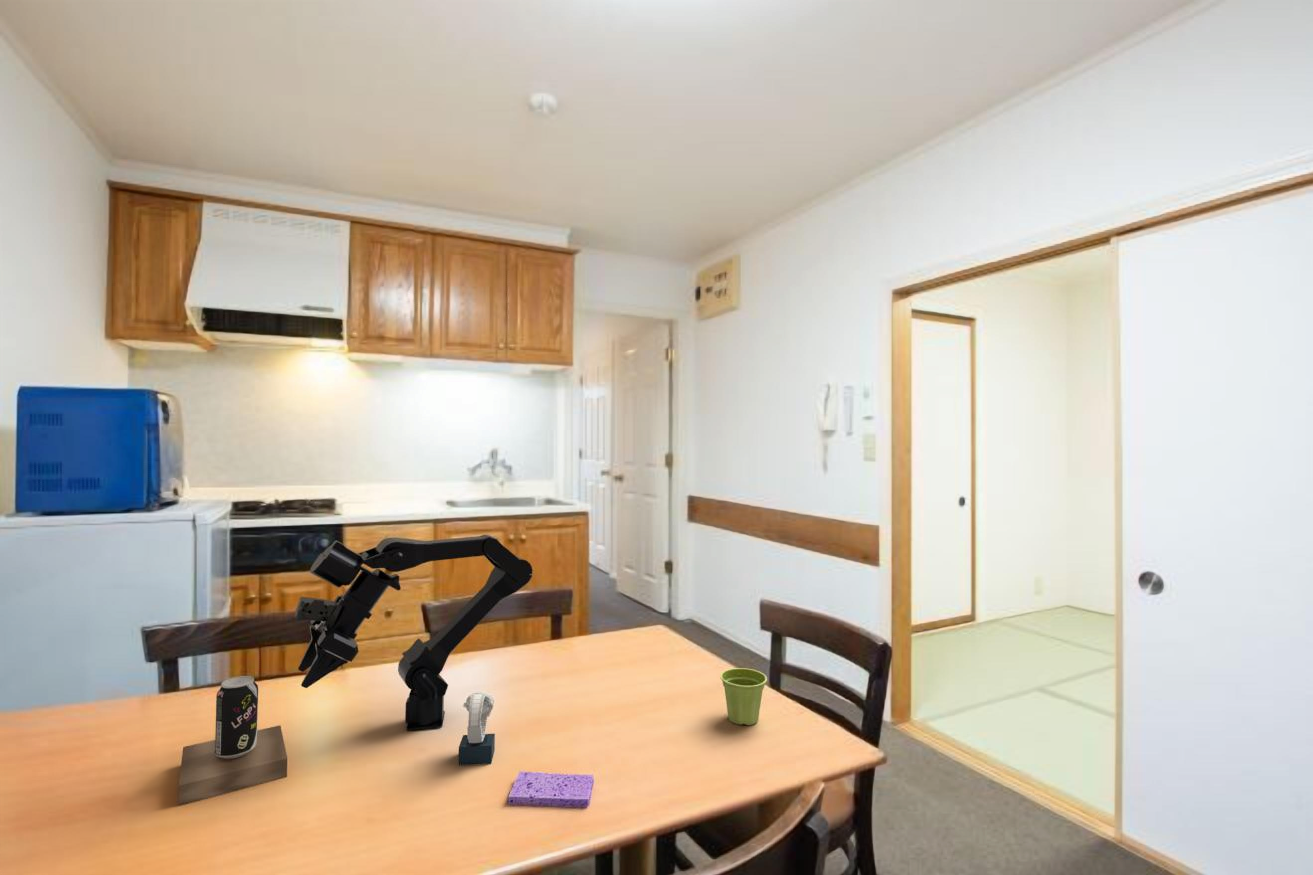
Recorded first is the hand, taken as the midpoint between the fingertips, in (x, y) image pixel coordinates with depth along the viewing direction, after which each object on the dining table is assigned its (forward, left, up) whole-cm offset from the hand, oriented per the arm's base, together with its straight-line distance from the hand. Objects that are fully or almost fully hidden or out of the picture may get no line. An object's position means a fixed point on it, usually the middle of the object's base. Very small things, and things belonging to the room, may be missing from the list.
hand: (301, 678), depth 105 cm
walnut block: (+9, +4, -13) cm, 16 cm away
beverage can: (+9, +4, -10) cm, 14 cm away
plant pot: (-82, +6, -13) cm, 83 cm away
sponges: (-42, +22, -14) cm, 50 cm away
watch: (-30, +9, -13) cm, 34 cm away
